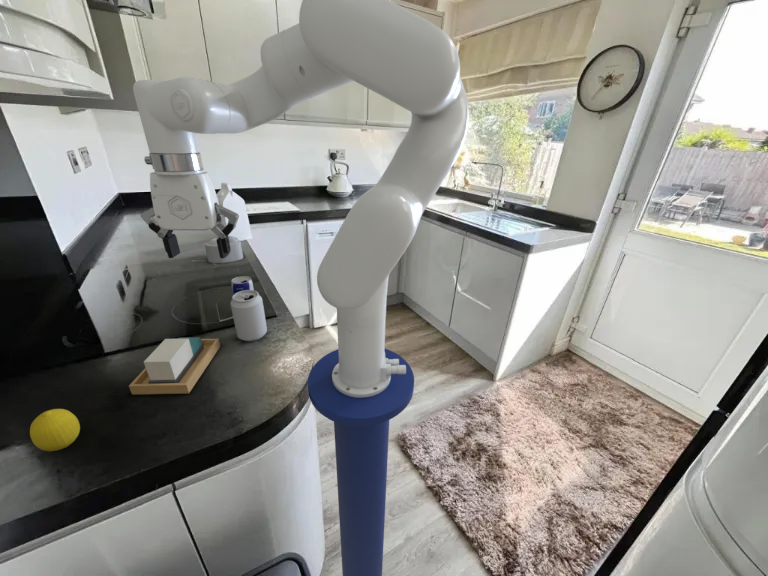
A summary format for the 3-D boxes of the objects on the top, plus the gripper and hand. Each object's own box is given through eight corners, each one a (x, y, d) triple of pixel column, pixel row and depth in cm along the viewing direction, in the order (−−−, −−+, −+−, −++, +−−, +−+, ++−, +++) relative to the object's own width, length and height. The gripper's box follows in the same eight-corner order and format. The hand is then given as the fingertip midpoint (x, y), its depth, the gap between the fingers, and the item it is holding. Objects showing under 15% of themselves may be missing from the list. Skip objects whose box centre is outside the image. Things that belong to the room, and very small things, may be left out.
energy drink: (246, 324, 90) (239, 285, 85) (234, 318, 92) (226, 280, 87) (261, 315, 94) (255, 278, 89) (249, 310, 97) (243, 274, 91)
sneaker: (176, 386, 67) (169, 363, 64) (149, 386, 67) (140, 363, 64) (204, 348, 79) (198, 327, 76) (181, 348, 78) (174, 327, 76)
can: (255, 345, 81) (247, 304, 76) (230, 339, 83) (221, 298, 78) (273, 330, 88) (267, 290, 82) (250, 324, 90) (243, 286, 85)
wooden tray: (220, 346, 81) (218, 338, 80) (189, 393, 66) (186, 384, 65) (174, 346, 80) (171, 339, 79) (132, 394, 65) (128, 385, 64)
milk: (252, 238, 160) (244, 183, 149) (229, 243, 152) (218, 186, 141) (240, 233, 167) (231, 181, 156) (218, 237, 159) (207, 183, 148)
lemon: (56, 466, 51) (34, 431, 48) (35, 454, 53) (12, 420, 50) (94, 438, 56) (76, 404, 53) (74, 429, 58) (55, 395, 54)
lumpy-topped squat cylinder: (244, 259, 134) (241, 239, 131) (210, 265, 128) (205, 244, 124) (238, 252, 142) (235, 232, 138) (206, 257, 135) (201, 237, 131)
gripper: (111, 165, 53) (143, 262, 60) (220, 167, 54) (238, 263, 61) (140, 161, 59) (165, 249, 67) (236, 163, 60) (250, 250, 68)
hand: (200, 256), depth 64 cm, fingers open, 9 cm apart
